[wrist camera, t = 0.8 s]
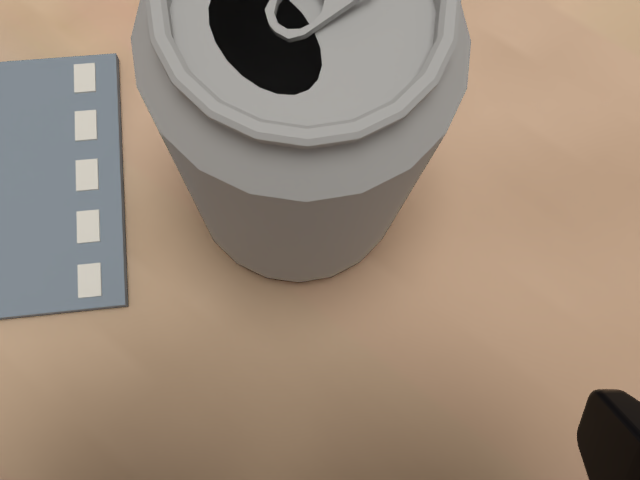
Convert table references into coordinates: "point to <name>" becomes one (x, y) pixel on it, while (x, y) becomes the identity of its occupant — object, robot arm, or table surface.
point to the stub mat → (61, 187)
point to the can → (300, 117)
